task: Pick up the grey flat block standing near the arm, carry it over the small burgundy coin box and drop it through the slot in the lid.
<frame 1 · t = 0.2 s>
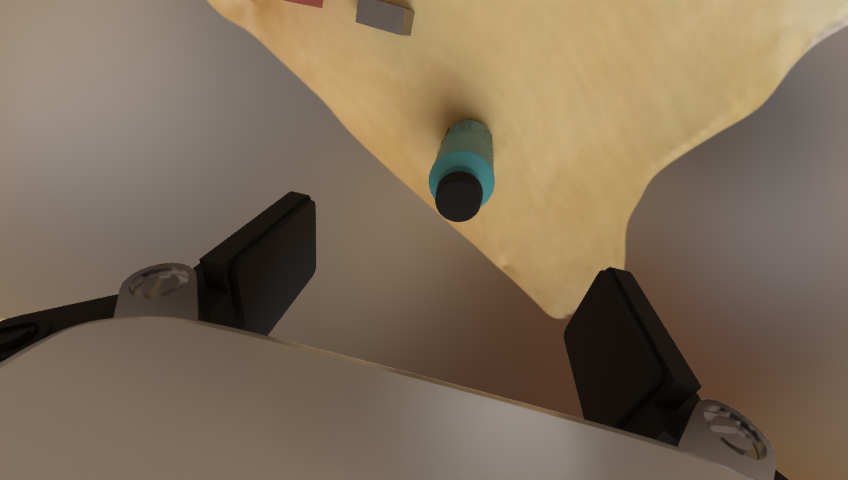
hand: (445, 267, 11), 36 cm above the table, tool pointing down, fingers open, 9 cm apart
beverage bottle: (469, 140, 44), on the table
grey flat block: (392, 18, 38), on the table
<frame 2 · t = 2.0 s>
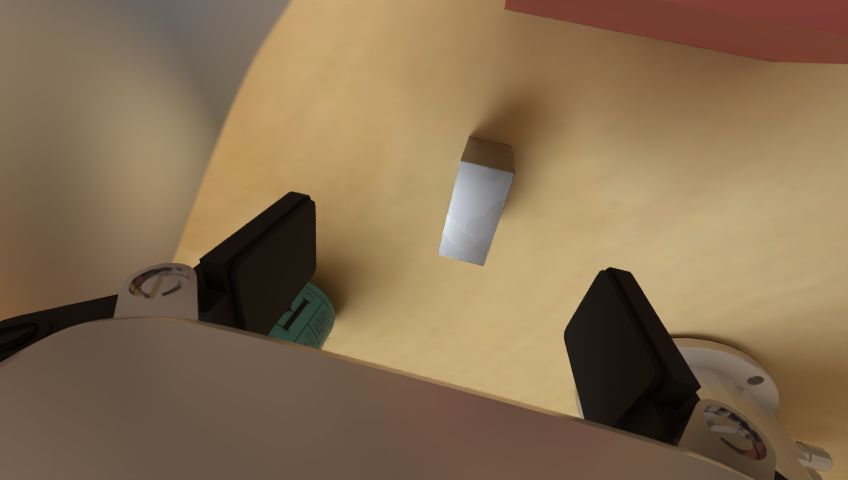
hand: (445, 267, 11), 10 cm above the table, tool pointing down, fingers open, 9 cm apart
beverage bottle: (310, 294, 27), on the table
grey flat block: (478, 182, 20), on the table
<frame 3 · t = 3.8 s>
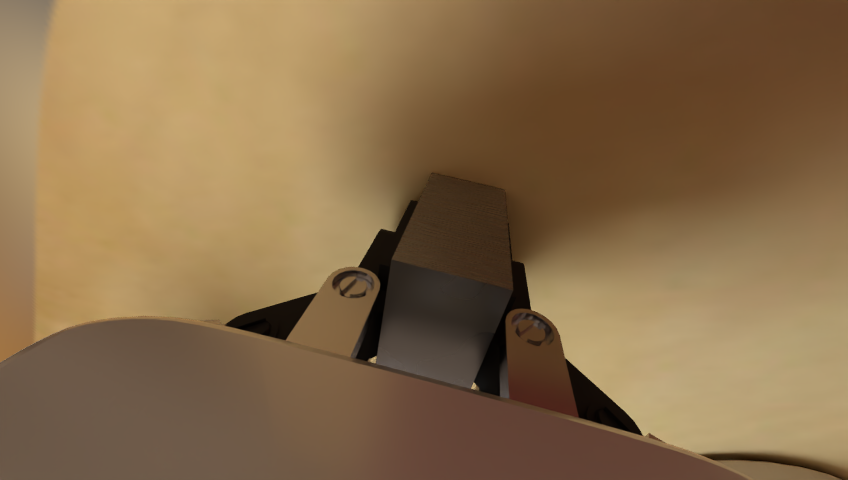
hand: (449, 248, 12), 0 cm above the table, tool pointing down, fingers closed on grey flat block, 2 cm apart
grey flat block: (451, 244, 12), on the table, touching gripper
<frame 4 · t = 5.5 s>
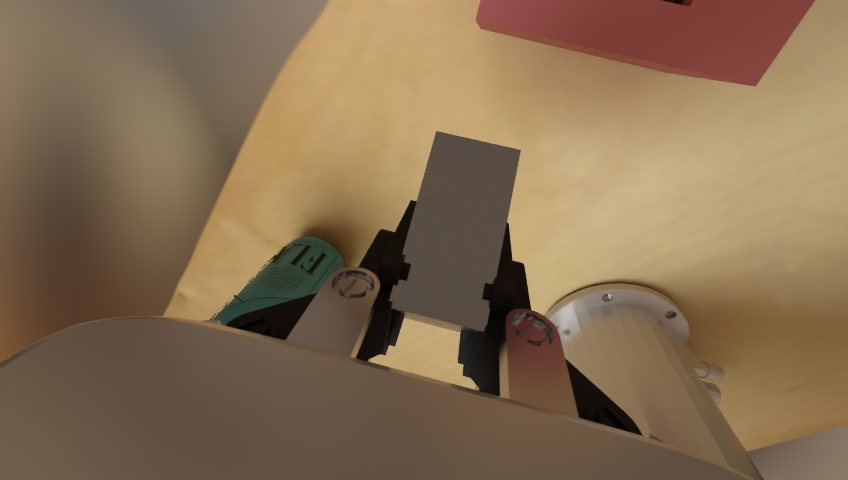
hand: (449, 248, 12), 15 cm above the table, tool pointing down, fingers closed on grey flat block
beverage bottle: (323, 254, 33), on the table
grey flat block: (466, 180, 11), point 14 cm above the table, tilted 42°, touching gripper
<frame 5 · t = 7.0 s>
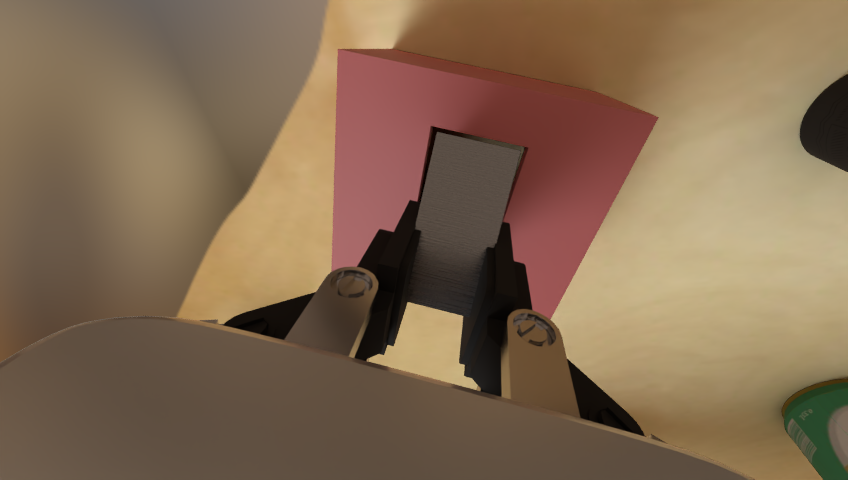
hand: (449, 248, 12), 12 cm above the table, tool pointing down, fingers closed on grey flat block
coin box: (469, 161, 22), on the table
beverage can: (834, 404, 27), on the table
grey flat block: (472, 155, 12), point 10 cm above the table, tilted 65°, touching gripper
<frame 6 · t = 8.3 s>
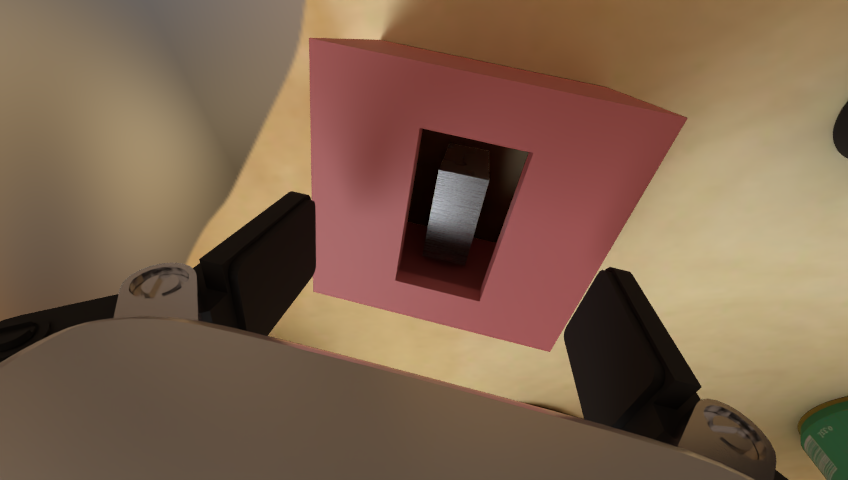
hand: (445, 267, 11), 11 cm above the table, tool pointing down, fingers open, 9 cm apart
coin box: (465, 164, 20), on the table
grey flat block: (466, 159, 17), point 2 cm above the table, tilted 90°
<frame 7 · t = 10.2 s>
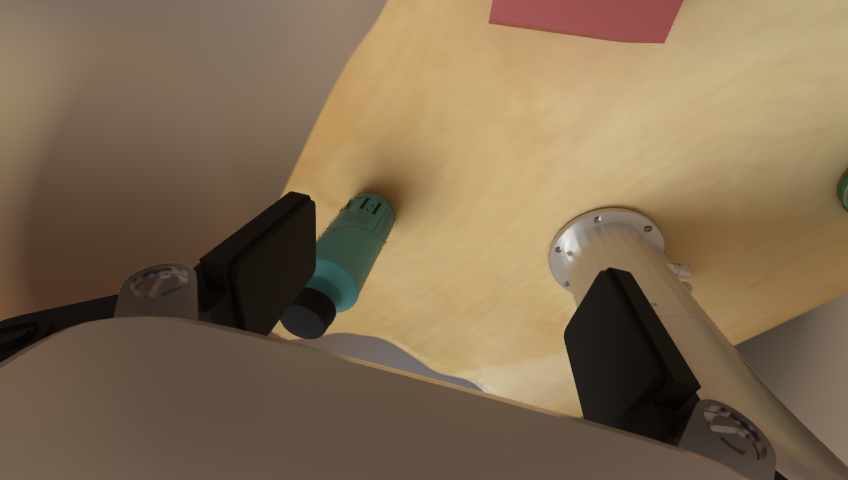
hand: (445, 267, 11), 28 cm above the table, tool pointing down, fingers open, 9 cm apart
beverage bottle: (374, 209, 42), on the table
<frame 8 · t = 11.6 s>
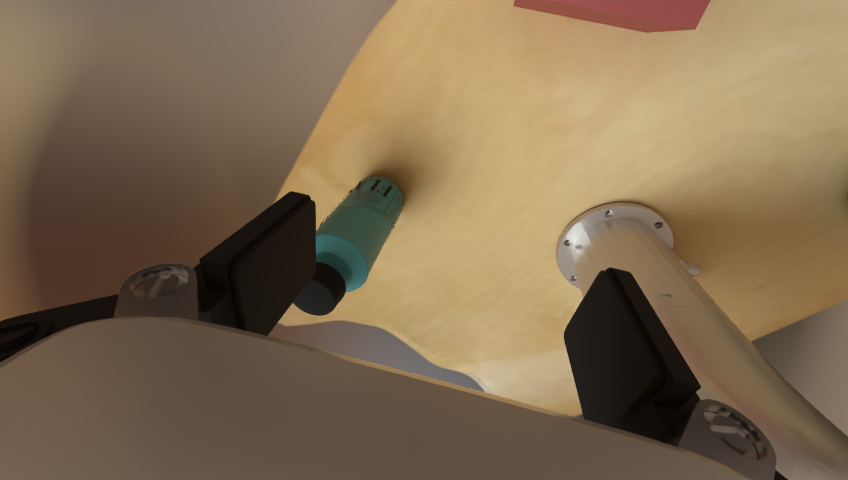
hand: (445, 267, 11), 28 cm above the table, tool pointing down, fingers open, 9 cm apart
beverage bottle: (383, 194, 42), on the table
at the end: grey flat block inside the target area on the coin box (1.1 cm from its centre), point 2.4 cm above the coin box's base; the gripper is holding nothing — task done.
